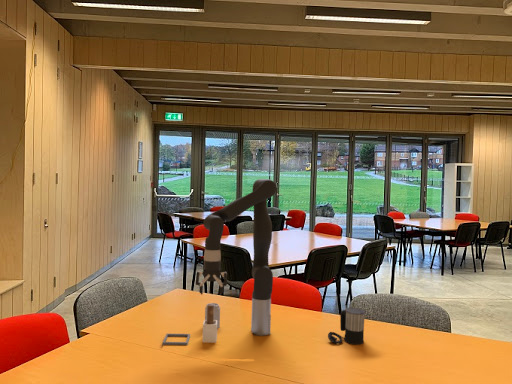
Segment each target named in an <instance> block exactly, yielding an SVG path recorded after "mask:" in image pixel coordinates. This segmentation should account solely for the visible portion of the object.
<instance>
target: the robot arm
mask: <svg viewBox="0 0 512 384" xmlns="http://www.w3.org/2000/svg"><path fill="white" fill-rule="evenodd" d="M276 193H277V184H276V182H275V181H274V180H272V179H269V178H267V179H266V178H258V179H256V180H255V181H254V182H253V184H252V192H250V193H248V194H246V195H244V196H241V197H239V198H236V199H235V200H233V201H232V202H230V203H228V204H226V205H225V206H223V207H222V208H221V209H218V210H215V211H214V212H212V213H209V214H208V215H207V216H206V217H204V220H203V227H204V228H205V229H206V230H208V232H209V233H208V236H207V237H205V241H204V254H203V271H200V270H197V271H196V274H195V276H196V277H195V285H197V286H198V287H199V294H200V295H203V292H204V284H205V283H206V282H211V283H212V282H213V283H214V282H216V283H217V284H218V285H219V296H221V295H222V294H223V293H224V287H225V286H228V273H227V271H223V272H221V255H222V253H221V241H222V236H223V233H224V228H225V227H224V225H225V224H224V223H227V222H231V221H233V220H234V219H236V218H237V217H238V216H240V215H242V214H243V213H244V212H246V211H247V210H249V209H250V208H252V207H253V226H252V230H253V231H252V234H253V235H252V238H253V240H252V241H253V245H252V246H253V261H252V269H251V276H252V279H253V291H252V292H251V293H252V295H251V322H250V324H251V326H250V327H251V328H250V331H251V333H252V334H253V335H255V336H267V335H271V325H272V324H271V321H272V315H271V311H272V310H271V308H272V305H271V304H272V293H273V286H274V284H273V281H274V275H273V271H272V270H271V269H270V265H269V253H270V248H271V244H272V239H273V223H272V220H271V217H270V213H269V211H268V199H270V198H272V197H273V196H274V195H276ZM201 276H203V279H202V280H201V281H200V277H201ZM221 276H222V278H223V282H222V280H221V279H220V277H221Z"/></svg>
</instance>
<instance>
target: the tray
mask: <svg viewBox="0 0 512 384" xmlns="http://www.w3.org/2000/svg"><path fill="white" fill-rule="evenodd" d="M168 337H178V338H179V337H180V338H181V337H182V338H186V340H185V341H167V339H168ZM190 338H191V333H166V334H165V336H164V338H163V340H162V347H164V345H165V346H188V345H189V340H190Z"/></svg>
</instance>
